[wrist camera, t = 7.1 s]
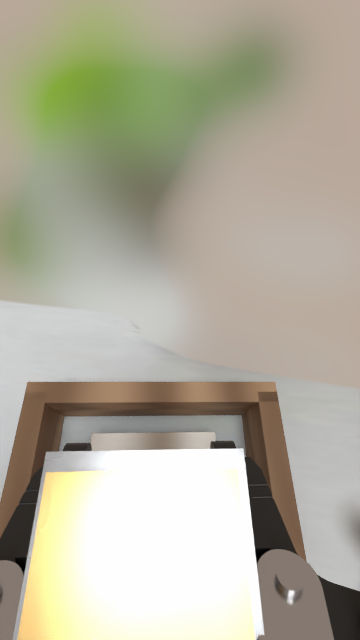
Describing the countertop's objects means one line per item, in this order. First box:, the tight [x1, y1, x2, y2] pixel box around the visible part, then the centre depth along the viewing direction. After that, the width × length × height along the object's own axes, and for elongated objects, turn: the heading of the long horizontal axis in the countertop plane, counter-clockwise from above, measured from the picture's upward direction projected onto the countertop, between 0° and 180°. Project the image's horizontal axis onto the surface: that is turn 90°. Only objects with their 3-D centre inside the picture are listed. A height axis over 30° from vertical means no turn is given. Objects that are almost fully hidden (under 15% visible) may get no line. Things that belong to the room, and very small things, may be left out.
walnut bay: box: [0, 382, 306, 561], centre depth 21 cm, size 18×15×5 cm
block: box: [13, 449, 264, 640], centre depth 9 cm, size 4×4×10 cm
